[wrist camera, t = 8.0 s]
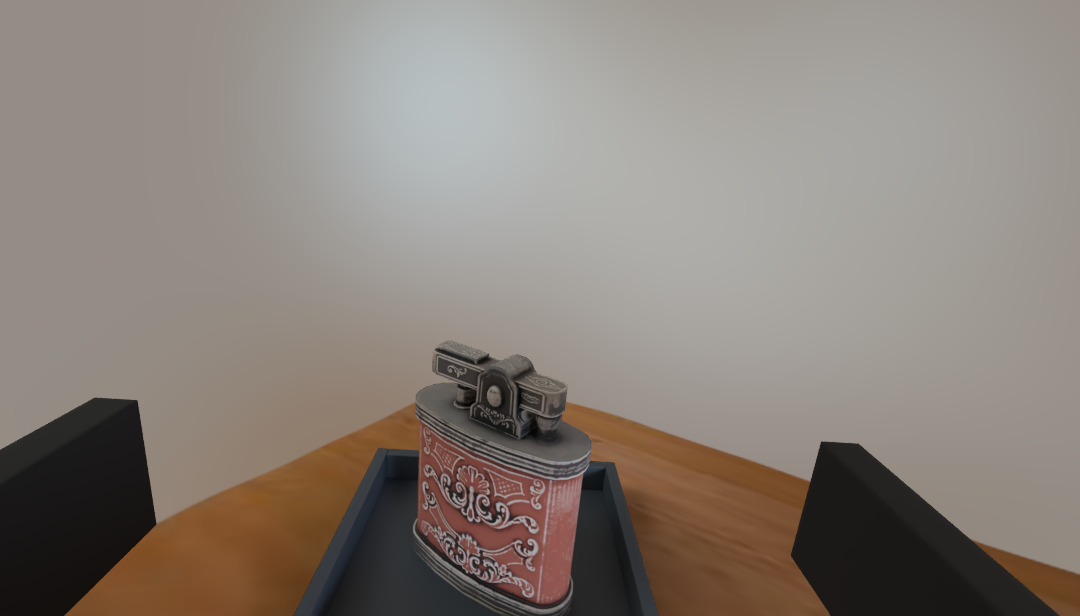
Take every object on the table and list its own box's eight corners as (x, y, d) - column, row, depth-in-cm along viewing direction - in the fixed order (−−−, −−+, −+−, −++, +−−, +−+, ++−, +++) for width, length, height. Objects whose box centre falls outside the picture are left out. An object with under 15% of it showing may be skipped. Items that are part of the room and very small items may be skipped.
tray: (261, 734, 16) (256, 686, 15) (378, 478, 29) (378, 447, 28) (674, 747, 17) (684, 702, 16) (610, 492, 29) (614, 462, 29)
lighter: (586, 588, 22) (616, 375, 19) (543, 647, 19) (571, 407, 16) (446, 510, 26) (454, 324, 23) (394, 548, 23) (396, 342, 20)
